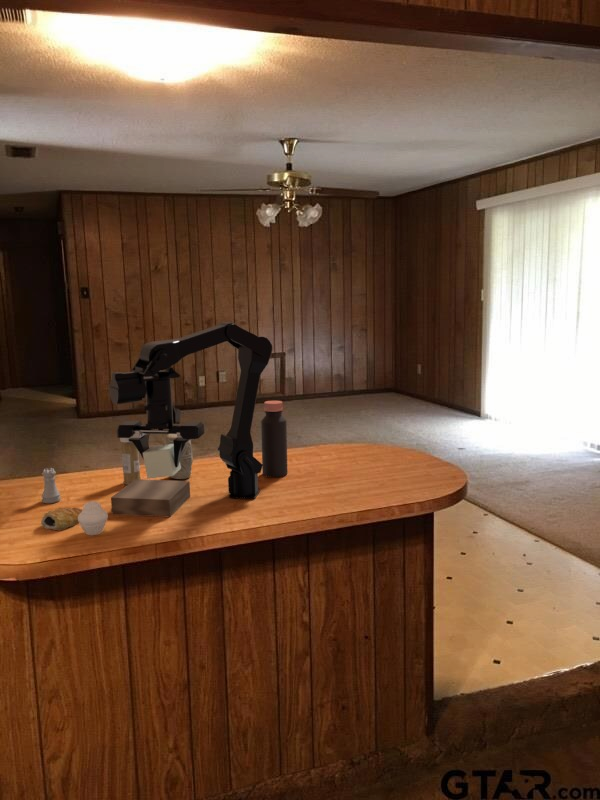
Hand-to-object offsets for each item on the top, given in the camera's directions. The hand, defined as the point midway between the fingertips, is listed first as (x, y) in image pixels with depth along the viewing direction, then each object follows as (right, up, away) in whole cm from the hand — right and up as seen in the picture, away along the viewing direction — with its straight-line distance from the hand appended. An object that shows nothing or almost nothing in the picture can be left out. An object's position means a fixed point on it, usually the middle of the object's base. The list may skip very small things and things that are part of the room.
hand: (162, 466), depth 153 cm
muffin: (-13, -13, -9) cm, 21 cm away
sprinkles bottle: (-13, -7, +25) cm, 29 cm away
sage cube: (0, -2, 0) cm, 2 cm away
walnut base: (-4, -10, +7) cm, 13 cm away
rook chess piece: (-30, -10, +12) cm, 33 cm away
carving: (-1, -6, +29) cm, 29 cm away
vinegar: (+24, -5, +30) cm, 39 cm away
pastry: (-21, -13, -4) cm, 25 cm away
